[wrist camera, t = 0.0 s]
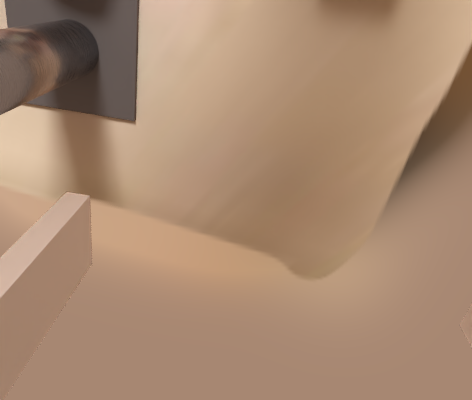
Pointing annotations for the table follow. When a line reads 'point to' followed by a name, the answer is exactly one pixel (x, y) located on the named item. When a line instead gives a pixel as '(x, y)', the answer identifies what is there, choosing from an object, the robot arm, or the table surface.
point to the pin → (43, 59)
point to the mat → (110, 53)
